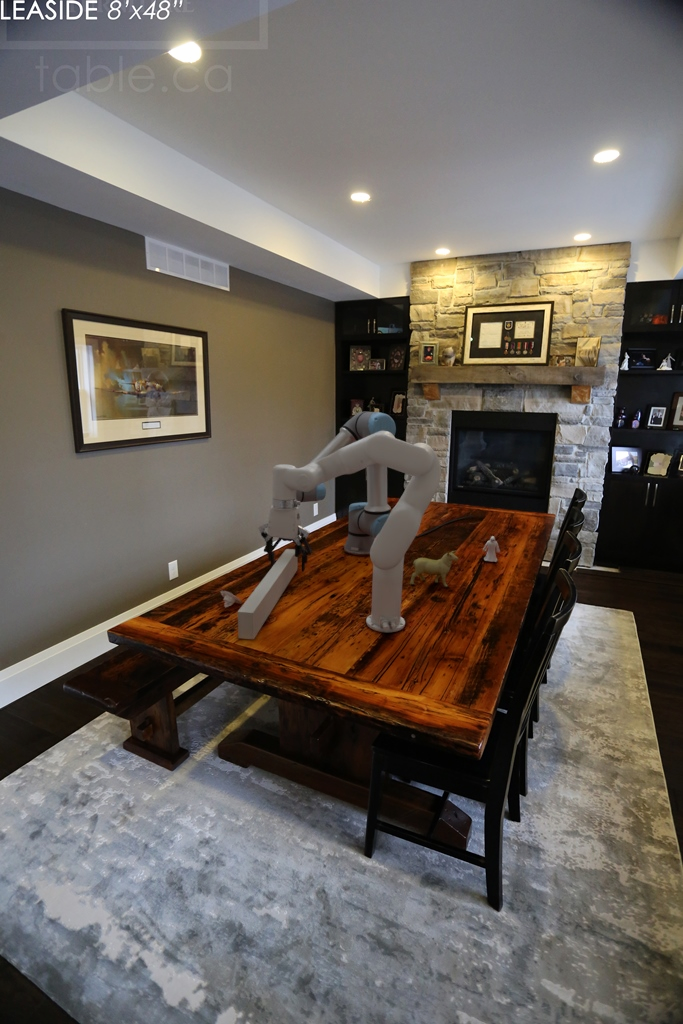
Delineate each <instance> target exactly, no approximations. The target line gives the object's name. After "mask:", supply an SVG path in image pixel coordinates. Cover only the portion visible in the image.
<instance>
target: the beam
mask: <svg viewBox="0 0 683 1024" xmlns="http://www.w3.org/2000/svg"><path fill="white" fill-rule="evenodd" d="M297 571H298V557H295V548H286V549H285V550H284V551H283V552H282V554H281V555H280V556H279V558H278V559H277V560H276V562H274V565H273V567H272V568H271V567H270V569H269V571H268V572H267V573H266V574H265V575H264V577H263V578H262V579H261V581H260V582H259V584H258V585H257V586H256V587H255V588H254V589H253V591H252V593H250V595H249V596H248V598H247V599H246V600H245V602H244V603H243V604H242V605H241V607H240V608H239V609H238V611H237V631H238V633H237V635H238V639H243V640H244V639H245V640H255V639H256V636H257V635H258V633H259V632H260V630H261V629H262V627H263V625H264V624H265V622H266V621H267V619H268V618H269V616H270V615H271V613H272V611H273V610H274V608H275V606H276V605H277V603H278V602H279V600H280V598H281V597H282V595H283V593H284V592H285V590H286V589H287V587H288V586H289V585H290V582H291V580H292V579H293V578H294V576H295V574H296V573H297Z"/></svg>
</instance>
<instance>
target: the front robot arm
mask: <svg viewBox="0 0 683 1024" xmlns="http://www.w3.org/2000/svg"><path fill="white" fill-rule="evenodd" d="M376 463H378V464H381V465H383V466H386V467H387V468H389V469H392V470H394V471H397V472H401V473H403V474H406V475H409V476H411V478H410V480H409V482H408V484H407V486H406V487H405V489H404V491H403V493H402V495H401V496H400V498H399V500H398V501H397V503H396V504H395V506H393V508H391V513H390V515H389V517H388V519H387V520H386V522H385V524H384V526H383V528H382V529H381V531H380V533H379V534H378V535H377V536H376V538H374V542H373V544H372V546H371V549H370V555H369V558H370V561H371V563H372V564H373V565H372V585H371V586H372V587H371V607H370V609H371V613H370V615H368V616H367V617H366V621H365V622H366V623H365V624H366V625H367V627H368V628H369V629H372V630H373V631H376V632H379V633H396V632H398V631H402V630H403V629H404V628H405V626H406V620H405V618H403V617H402V615H401V614H402V599H403V598H402V597H403V580H404V564H405V563H404V561H405V554H406V553H407V551H408V550H409V548H410V547H411V545H412V543H413V541H414V540H415V539H416V538H415V536H417V535H418V533H419V530H420V527H421V523H422V520H423V517H424V515H425V513H426V511H427V509H428V507H429V506H430V504H431V502H432V500H433V498H434V496H435V495H436V493H437V490H438V488H439V486H440V482H441V479H442V467H441V463H440V459H439V457H438V455H437V452H435V450H434V449H433V447H431V445H429V444H428V443H425V442H417V443H410V442H407V441H404V440H402V439H399V438H396V437H395V435H393V434H392V433H390V432H388V431H379V432H376V433H374V434H372V435H369V436H367V437H365V438H363V439H361V440H358V441H356V442H354V443H352V444H349V445H347V446H345V447H343V448H341V449H339V450H337V451H336V452H335V453H333V454H330V455H328V456H326V457H324V458H322V459H319V460H317V461H315V462H313V463H310V464H308V465H307V464H306V465H304V466H301V467H296V466H295V465H292V464H286V463H285V464H283V463H282V464H281V463H280V464H276V465H274V466H273V467H272V505H271V506H270V508H269V513H268V520H267V523H265V524H262V525H260V526H258V530H259V533H260V535H261V537H262V538H263V539H264V542H265V546H266V550H267V552H266V553H267V554H268V553H270V552H274V550H273V545H274V540H273V539H271V538H272V537H273V538H276V539H277V538H278V539H279V538H285V539H293V540H294V541H295V542H296V544H295V545H294V549H295V557H297V558H298V557H299V556H300V555H301V554H302V552H301V546H302V545H303V544H304V543H303V542H304V541H305V540H306V539H307V540H308V537H309V535H310V534H311V532H310V531H309V530H308V529H306V528H305V527H303V526H301V515H300V514H301V513H300V509H299V507H298V506H301V502H300V501H297V498H296V490H298V491H303V492H308V491H311V490H313V489H314V488H315V487H317V486H318V485H320V484H322V483H323V484H325V483H326V482H328V481H330V480H333V479H335V478H337V477H340V476H343V475H352V474H355V473H358V472H360V471H361V470H365V469H367V467H369V466H371V465H373V464H376ZM296 506H297V507H296ZM266 529H267V532H266ZM301 533H303V534H304V536H303V538H301V537H300V534H301Z"/></svg>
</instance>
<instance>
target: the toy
mask: <svg viewBox="0 0 683 1024" xmlns="http://www.w3.org/2000/svg"><path fill="white" fill-rule="evenodd" d="M457 552H458V550H452V551H450V552H446V553H444V555H443V556H442V557H441V558H440V559H431V558H427V557H418V558H417V559H416V558H415V559H414V560H413V568H414V572H412V574H411V578H410V581H409V584H410V585H411V586H415V584H416V583H415V582H414V581H415V578H416V577H417V576H418V577H420V579H421V580H422V582H426V578H425V576H424V575H423V574H426V575H428V576H435V578H434V583H435V584H439V581H438V580H439V578H441V581H442V585H443V587H444V588H446V589H447V588H449V585H448V584H447V582H446V580H447V579H446V577H447V575H448V574H449V572H450V570H451V567H452V563H453V561H454V562H458V561H459V557H458V556H457V555H455V554H456V553H457Z"/></svg>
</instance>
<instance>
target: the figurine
mask: <svg viewBox="0 0 683 1024" xmlns="http://www.w3.org/2000/svg"><path fill="white" fill-rule="evenodd" d="M482 551H483V552H486V554H485V556H484V557H483V560H484V561H485V562H495V563H498V558H497V554H496V553H498V554H499V553H501V550H500V547H499V543H498V541H497V540H496V538H495V536H493V535H492V536H490V539H489V540H487V542H486V543H485V544H484V546H483V548H482Z"/></svg>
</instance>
